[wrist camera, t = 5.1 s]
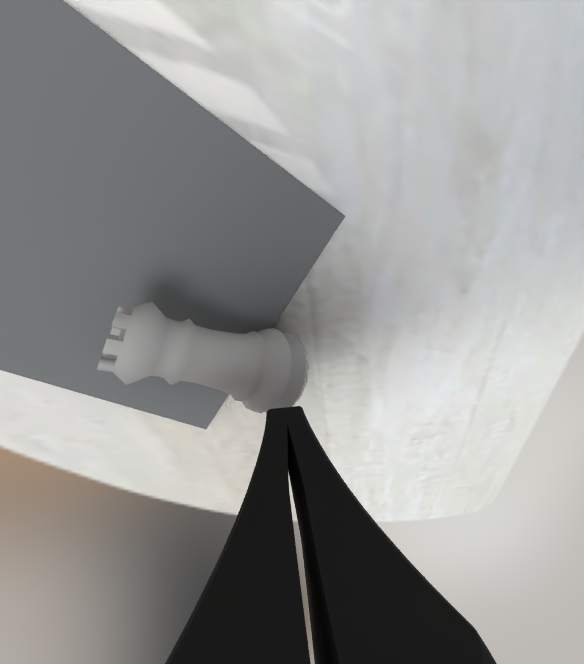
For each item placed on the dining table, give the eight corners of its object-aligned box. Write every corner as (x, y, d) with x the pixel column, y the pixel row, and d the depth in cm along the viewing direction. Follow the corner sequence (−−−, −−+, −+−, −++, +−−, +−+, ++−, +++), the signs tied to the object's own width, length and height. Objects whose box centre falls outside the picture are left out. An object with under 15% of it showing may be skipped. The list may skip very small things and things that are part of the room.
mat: (342, 215, 12) (344, 216, 12) (207, 423, 18) (206, 429, 17) (-35, -72, 7) (-54, -89, 7) (-51, 346, 13) (-62, 352, 12)
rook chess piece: (283, 436, 12) (75, 429, 8) (255, 383, 16) (102, 356, 11) (327, 360, 11) (118, 300, 7) (286, 321, 15) (133, 266, 10)
